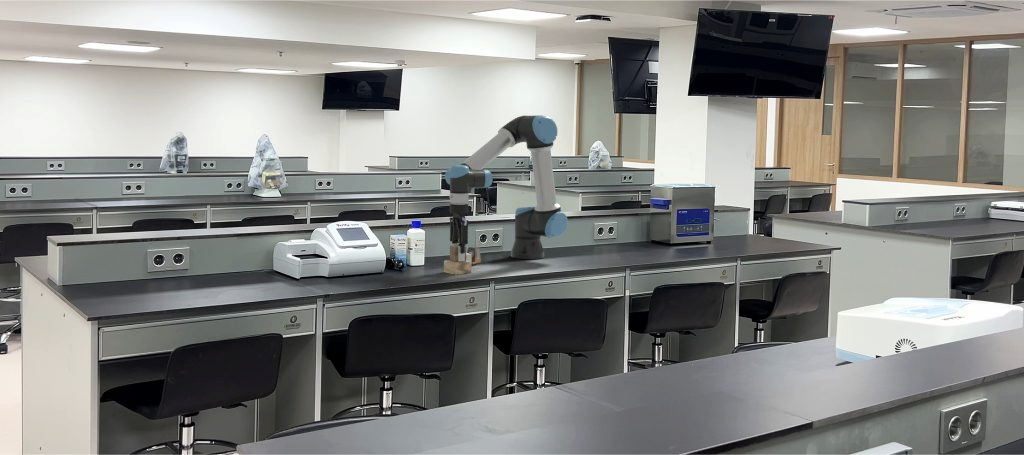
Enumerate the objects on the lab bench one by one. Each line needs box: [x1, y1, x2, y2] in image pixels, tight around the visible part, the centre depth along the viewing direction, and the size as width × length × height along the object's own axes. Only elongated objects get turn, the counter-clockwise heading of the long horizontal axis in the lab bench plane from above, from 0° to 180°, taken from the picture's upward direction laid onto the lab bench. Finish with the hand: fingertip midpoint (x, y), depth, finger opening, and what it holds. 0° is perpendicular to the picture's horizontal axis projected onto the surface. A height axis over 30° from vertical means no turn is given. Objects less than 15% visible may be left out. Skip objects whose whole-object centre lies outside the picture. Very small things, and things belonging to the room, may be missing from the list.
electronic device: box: [466, 246, 482, 267], centre depth 403 cm, size 4×10×8 cm, turn 161°
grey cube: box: [466, 252, 473, 269], centre depth 393 cm, size 6×6×6 cm
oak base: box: [443, 259, 472, 276], centre depth 381 cm, size 8×8×5 cm
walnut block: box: [449, 245, 467, 262], centre depth 381 cm, size 5×5×6 cm
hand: (458, 260), depth 381 cm, fingers closed on walnut block, 5 cm apart
